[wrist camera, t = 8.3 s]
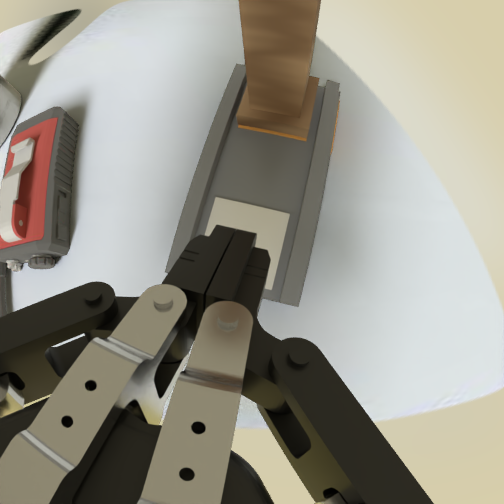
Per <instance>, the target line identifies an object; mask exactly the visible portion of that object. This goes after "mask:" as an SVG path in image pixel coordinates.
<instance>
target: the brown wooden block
mask: <svg viewBox="0 0 504 504" xmlns="http://www.w3.org/2000/svg"><path fill="white" fill-rule="evenodd" d="M320 3H321V0H239V8H240V18H241V27H242V37H243V46H244V56H245V66H246V76H247V86H246V89H245V92H244V95H243V97H242V100H241V103H240V106H239V109H238V111H237V114H236V117H237V122H238V125H244V126H250V127H255V128H260V129H266V130H271V131H276V132H280V133H285V134H290V135H294V136H299V137H303V138H307V136H308V131H309V127H310V122H311V117H312V112H313V107H314V102H315V97H316V92H317V87H318V82H319V78H316V77H312V76H309V74H310V67H311V61H312V55H313V49H314V43H315V36H316V29H317V23H318V17H319V10H320Z"/></svg>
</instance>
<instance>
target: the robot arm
mask: <svg viewBox="0 0 504 504" xmlns="http://www.w3.org/2000/svg"><path fill="white" fill-rule="evenodd" d="M20 106H21V95H20V93H19V92H18V91H17V90H16V89H15V88H14V87H13V86H12V85H11V84H10V83H9V82H7V81H6V80H5V79H4V78H3V77H2V76H1V75H0V146H1V145H2V143H3V142H4V140H5V139H6V137H7V136H8V134H9V132H10V130H11V129H12V127H13V125H14V123H15V121H16V118H17V116H18V113H19V110H20ZM256 238H257V233H253V232H249V231H245V230H240V229H237V230H236V229H235V228H231V227H226V226H222V225H216V226H215V228H214V229H213V231H212V233H211V234H210V236H205V235H201V234H200V235H198V236H197V237H195V238H193V239H192V240H190V241H189V243H188V244H187V246H186V247H185V249H184V251H183V252H182V253H181V255H180V256H179V259H177V261H176V262H175V264H174V265H173V267H172V268H171V270H170V271H169V273H168V275H167V276H166V278H165V279H164V281H163V282H162V284H160V285H155V286H152V287H150V288H148V289H147V290H146V291H145V292H144V293H143V294H142V295H141V296H140V297H117V296H115V292H114V290H113V288H112V287H111V286H110V285H108V284H106V283H104V282H90V283H87V284H84V285H82V286H79V287H76V288H74V289H71V290H68V291H66V292H63V293H61V294H58V295H55V296H53V297H50V298H48V299H45V300H43V301H40V302H38V303H35V304H32V305H30V306H27V307H25V308H22V309H20V310H17V311H15V312H12V313H10V314H7V315H5V316H3V317H0V504H274V502H273V501H272V499H271V497H270V495H269V493H268V491H267V490H266V488H265V486H264V485H263V482H262V480H261V479H260V477H259V475H258V474H257V473H256V471H255V470H254V469H253V468H252V467H251V465H250V464H249V463H248V462H247V461H245V460H244V459H243V458H242V457H241V456H239V455H238V454H236V453H235V452H233V451H232V450H231V446H232V441H233V436H234V430H235V425H236V419H237V414H238V409H239V403H240V398H241V394H242V395H243V396H245V397H247V398H248V399H250V400H252V401H253V402H255V403H257V407H258V409H259V411H260V413H261V415H262V416H263V418H264V420H265V422H266V423H267V425H268V427H269V429H270V430H271V432H272V434H273V435H274V437H275V439H276V440H277V442H278V444H279V445H280V447H281V449H282V450H283V452H284V454H285V455H286V457H287V459H288V460H289V462H290V463H291V465H292V467H293V468H294V470H295V471H296V473H297V475H298V476H299V478H300V479H301V481H302V482H303V484H304V486H305V487H306V489H307V490H308V492H309V493H310V495H311V496H312V498H313V499H314V501H315V502H316V503H315V504H434V503H433V502H432V501H431V499H430V498H429V497H428V495H427V494H426V493H425V491H424V490H423V489H422V487H421V486H420V485H419V483H418V482H417V481H416V479H415V478H414V476H413V475H412V474H411V472H410V471H409V470H408V468H407V467H406V466H405V464H404V463H403V462H402V460H401V459H400V458H399V456H398V455H397V454H396V452H395V451H394V450H393V448H392V447H391V446H390V444H389V443H388V441H387V440H386V439H385V438H384V436H383V435H382V433H381V432H380V431H379V429H378V428H377V427H376V425H375V424H374V423H373V421H372V420H371V419H370V417H369V416H368V414H367V413H366V412H365V410H364V409H363V408H362V406H361V405H360V404H359V402H358V401H357V400H356V398H355V397H354V396H353V394H352V393H351V391H350V390H349V389H348V387H347V386H346V385H345V383H344V382H343V381H342V379H341V378H340V377H339V375H338V374H337V373H336V371H335V370H334V368H333V367H332V366H331V364H330V363H329V362H328V360H327V359H326V358H325V356H324V355H323V354H322V352H321V351H320V349H319V348H318V347H317V346H316V345H315V344H313V343H312V342H310V341H308V340H306V339H303V338H294V337H293V338H287V339H284V340H282V341H281V340H279V339H277V338H275V337H273V336H272V335H270V334H268V333H267V332H266V331H265V330H264V329H263V328H262V327H261V325H260V324H259V322H258V319H257V316H258V312H259V308H260V304H261V301H262V297H263V293H264V289H265V285H266V280H267V276H268V271H269V267H270V262H271V258H270V256H269V253H268V250H266V249H262V248H257V247H255V244H256ZM83 333H84V334H85V336H83V337H80V338H78V339H75V340H73V341H71V342H68V343H66V344H63V345H61V346H58V347H51V346H54V345H56V344H59V343H61V342H64V341H66V340H68V339H71V338H73V337H76V336H78V335H81V334H83ZM193 341H194V344H193ZM192 344H193V348H192V351H191V354H190V357H189V351H190V348H191V346H192ZM188 357H189V360H188ZM187 360H188V363H187V366H186V369H185V370H184V371H182V370H183V368H184V366H185V364H186V362H187ZM175 383H176V384H175ZM174 385H175V387H174ZM173 387H174V390H173V393H172V396H171V399H170V403H169V406H168V409H167V412H166V415H165V418H164V422H163V425H162V426H161V425H159V423H160V421H161V418H162V415H163V409H164V405H165V402H166V400H167V398H168V396H169V394H170V393H171V391H172V389H173ZM49 394H51V396H50V397H48V398H46V399H43V400H41V401H39V402H36V403H34V404H32V405H30V406H27V407H25V408H24V407H23V406H24V404H27V403H29V402H32V401H35V400H37V399H40V398H42V397H45V396H47V395H49Z"/></svg>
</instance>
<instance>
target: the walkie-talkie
mask: <svg viewBox="0 0 504 504" xmlns="http://www.w3.org/2000/svg"><path fill="white" fill-rule="evenodd" d="M78 126H79V125H78V124H77V123H76V122H75V121H74V120H73V119H72V118H71V117H70V116H69V115H68V114H67V113H66V112H65V111H64V110H63V109H62V108H61V107H53V108H51V109H48V110H46V111H44V112H42V113H40V114H38V115H36V116H34V117H32V118H30V119H28V120H26V121H24V122H22V123H20V124H19V125H17V127H16V129H15V131H14V133H13V135H12V137H11V141H10V145H9V150H8V153H7V158H6V164H5V169H4V175H3V179H2V181H1V188H0V317H3V316H5V315H7V314H6V300H5V277H6V263H8V268H9V269H12V271H21V266H22V263H28V266H29V267H30V268H33V269H50V268H53V267H54V266H55V260H54V259H53V258H54V257H59V256H64V255H67V253H68V251H69V249H70V246H69V245H70V203H71V186H72V184H71V180H72V173H73V170H72V167H73V166H74V164H73V161H74V154H75V152H74V150H75V148H76V146H75V143H76V142H77V140H76V137H77V132H78Z"/></svg>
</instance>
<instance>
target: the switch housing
mask: <svg viewBox="0 0 504 504" xmlns="http://www.w3.org/2000/svg"><path fill="white" fill-rule="evenodd" d="M339 84H340V83H336V82H333V81H329V80H327V82H326V86H325V88H324V87H320V86H318V87H317V92H316V97H315V102H314V107H313V112H312V117H311V122H310V127H309V131H308V136H307V138H303V137H299V136H294V135H290V134H285V133H280V132H276V131H271V130H266V129H260V128H255V127H250V126H244V125H238V122H237V117H236V114H237V111H238V109H239V106H240V103H241V100H242V97H243V95H244V92H245V89H246V86H247V76H246V66H245V65H241V64H236V66H235V68H234V71H233V73H232V75H231V78H230V80H229V83H228V85H227V88H226V90H225V92H224V95H223V97H222V100H221V102H220V105H219V108H218V110H217V113H216V115H215V118H214V121H213V123H212V126H211V129H210V131H209V134H208V137H207V140H206V142H205V145H204V148H203V151H202V153H201V156H200V159H199V162H198V165H197V168H196V171H195V174H194V177H193V180H192V183H191V186H190V189H189V192H188V195H187V198H186V201H185V205H184V208H183V211H182V214H181V217H180V221H179V224H178V227H177V231H176V234H175V238H174V241H173V245H172V248H171V252H170V255H169V259H168V262H167V266H166V270H165V272H166V273H169V271H170V270H171V268H172V267H173V265H174V264H175V262H176V261H177V259H179V256H180V255H181V253H182V252H183V251H184V249H185V247H186V246H187V244H188V243H189V241H190V240H192V239H193V238H195V237H197V236H198V235H200V234H201V235H205V236H210V234H211V233H212V231H213V229H214V228H215V226H216V225H222V226H226V227H231V228H235V229H236V230H237V229H240V230H245V231H249V232H253V233H257V238H256V244H255V247H257V248H262V249H266V250H268V253H269V256H270V258H271V262H270V267H269V271H268V276H267V280H266V285H265V289H264V293H263V297H262V298H264V299H268V300H272V301H276V302H280V303H284V304H288V305H292V306H297V307H298V306H299V302H300V298H301V294H302V290H303V286H304V281H305V277H306V273H307V269H308V264H309V260H310V255H311V251H312V246H313V242H314V237H315V232H316V228H317V223H318V218H319V213H320V208H321V203H322V198H323V193H324V188H325V182H326V177H327V171H328V166H329V160H330V155H331V153H332V148H333V142H334V136H335V130H336V124H337V117H338V110H339V103H340V101H339V97H340V91H339Z"/></svg>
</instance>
